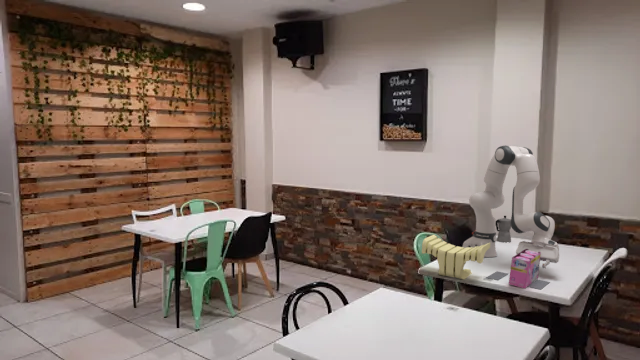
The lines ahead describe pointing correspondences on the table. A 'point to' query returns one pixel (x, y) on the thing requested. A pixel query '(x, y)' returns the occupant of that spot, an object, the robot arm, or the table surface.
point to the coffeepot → (503, 229)
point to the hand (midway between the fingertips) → (533, 265)
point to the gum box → (524, 268)
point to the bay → (536, 284)
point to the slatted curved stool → (453, 256)
